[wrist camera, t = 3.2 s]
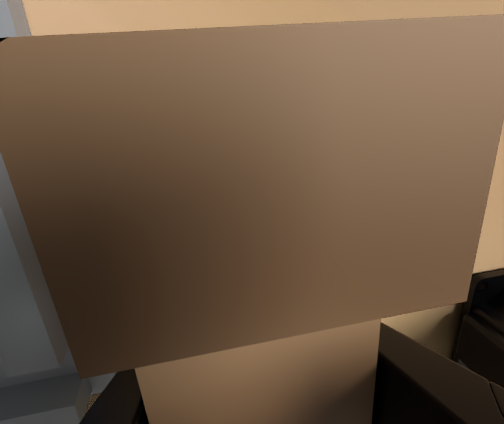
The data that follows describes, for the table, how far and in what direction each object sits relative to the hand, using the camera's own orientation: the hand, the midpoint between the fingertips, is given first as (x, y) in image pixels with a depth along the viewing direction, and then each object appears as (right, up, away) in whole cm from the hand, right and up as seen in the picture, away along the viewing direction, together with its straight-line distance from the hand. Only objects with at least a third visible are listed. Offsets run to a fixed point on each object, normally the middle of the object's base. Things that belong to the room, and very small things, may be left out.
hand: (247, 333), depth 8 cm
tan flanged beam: (0, +1, +2) cm, 2 cm away
